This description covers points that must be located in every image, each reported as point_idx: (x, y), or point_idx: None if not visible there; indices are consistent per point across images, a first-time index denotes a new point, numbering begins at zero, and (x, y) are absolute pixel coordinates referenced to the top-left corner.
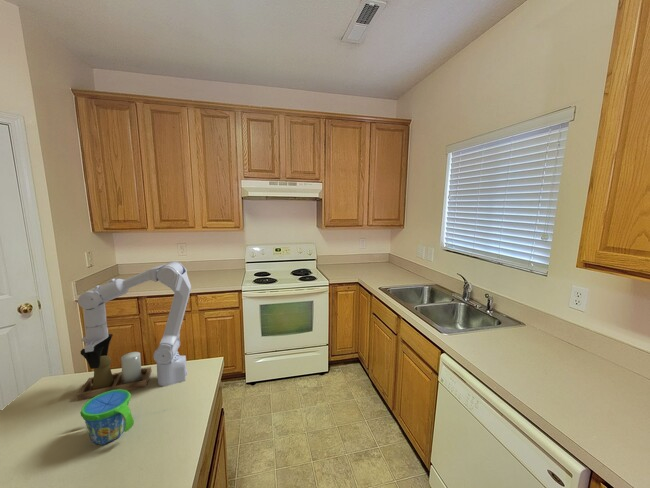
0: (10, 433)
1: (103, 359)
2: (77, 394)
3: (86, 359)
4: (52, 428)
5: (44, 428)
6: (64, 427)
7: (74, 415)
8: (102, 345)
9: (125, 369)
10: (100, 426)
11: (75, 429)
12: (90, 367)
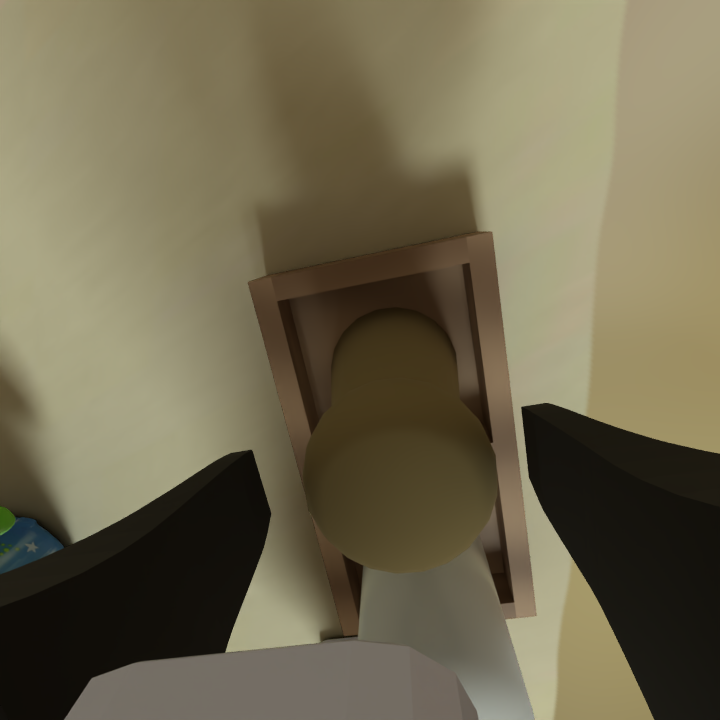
0: (9, 37)
1: (354, 550)
2: (255, 283)
3: (101, 536)
4: (54, 276)
5: (53, 229)
6: (62, 337)
7: (152, 330)
8: (616, 571)
9: (361, 610)
10: None
11: (50, 401)
12: (219, 462)
